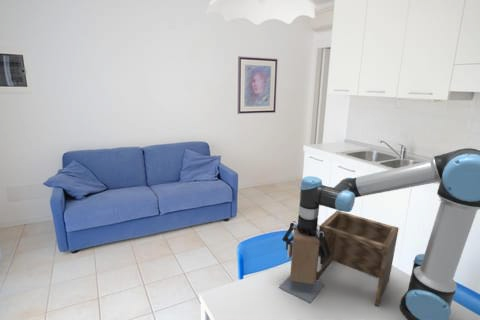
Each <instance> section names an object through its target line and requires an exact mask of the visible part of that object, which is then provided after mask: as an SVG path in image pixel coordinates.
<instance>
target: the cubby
mask: <svg viewBox="0 0 480 320" xmlns="http://www.w3.org/2000/svg"><path fill="white" fill-rule="evenodd" d="M318 228H319V229H318V230H319V231H321V232H322V231H324V232H325V239H326V242H327V245H328V248H329V251H330V256H329V257H328V258H326V257H325V262H324V263H323V265H322V268H321V270H320V271H319V272H318V271H317V273H316V280H317V281H318V279H319V278H320V277H321V276H322V275H323V273H324V272H325V271H326V270H327V268H328V267H329V266H330V264H332V262H335V263H338V264H341V265H344V266H347V267H348V268H352V269H354V270H357V271H359V272H362V273H365V274H367V275H369V276H372V277H374V278H377V279H378V283H377V289H376V293H375V300H374V306H375V307H377V308H378V307H379V306H380V304H381V301H382V298H383V296H384V293H385V291H386V289H387V287H388V284H389V282H390V278H391V272H392V268H393V261H394V255H395V251H396V246H397V245H396V244H397V238H398V234H399V230H400V229H399V227H397V226H395V225H394V226H393V225H390V224H387V223H383V222H379V221H376V220H372V219H368V218H365V217H362V216H358V215H354V214H352V213H349V212H344V211H338V210H336V211H335V212H333V213H332V214H331V215H330V216H329V217H327V219H325V221H324V222H322V223H321V224H320V225H319V227H318ZM320 244H321V242H320ZM321 246H322V245H321ZM319 255H320V254H318V257H319ZM317 265H318V264H317Z"/></svg>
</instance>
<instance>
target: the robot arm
mask: <svg viewBox="0 0 480 320" xmlns="http://www.w3.org/2000/svg"><path fill="white" fill-rule="evenodd" d="M437 183H438V184H439V185H438V189H437V193H436V194H437V197H438V198H439V199H440V203H439V206H438V209H437V213H436V217H435V219H434V222H433V226H432V230H431V232H430V236H429V238H428V241H427V246H426V249H425V251H424V253H420V254H417V255H415V257H414V260H413V264H412V271H411V274H410V279H409V283H408V286H407V287H408V288H407V291H406V292H405V293H404V295H403V296H402V297H401V299H400V301H399V309H400V311H401V313H402V315H403V316H404V317H405V318H406V319H407V320H449V319H450V316H451V315H452V309H451V307H452V303H453V299H454V297H455V295H456V291H457V289H458V286H457V282H455V279H454V277H455V275H456V272H457V269H458V266H459V263H460V261H461V258H462V255H463V252H464V249H465V246H466V243H467V240H468V238H469V235H470V232H471V229H472V226H473V223H474V221H475V219H476V215H477V212H478V211H479V210H480V149H477V148H471V147H470V148H469V147H468V148H467V147H466V148H460V149H456V150H453V151H449V152H446V153H442V154H438V155H433V156H432V158H431V159H430V160H426V161H423V162H422V161H421V162H418V163H414V164H409V165H405V166H400V167H395V168H391V169H387V170H382V171H379V172H374V173H370V174H365V175H360V176H358V177H345V178H344V179H342V180H340V181H339V183H337V184H336V185H335V186H334V187H331V186H326V185H324V184H323V180H322V179H321V178H319V177H317V176H310V175H309V176H305V177H303V178H302V179H301V184H300V185H301V186H300V189H299V190H300V192H299V195H300V196H299V205H298V216H297V217H298V218H297V222H296V221H295V220H294V221H292V222H291V223H290V224H289V228H288V230H287V231H286V233H285V234H284V236H283V237H282V239H281V240H282V241H283V242H285V250H286V252H287V253H286V254H287V255H286V259H287V260H289V259H291V258H292V248H293V236H294V235H292V236H291V237H290V235H291V234H292V232H294V228H296V227H297V229H298V231H299V232H300V233H305V234H307V235H308V236H315V235H316V234H318V237H319V239H320V242H321V244H320V245H319V254H320V255H319V257H318V265H317V271H318V272H319V271H320V270H321V268H322V265H323V263H324V262H325V257H326V258H328V257H329V256H330V251H329V248H328V245H327V242H326V239H325V232H324V231H322V232H321V231H318V230H319V229H318V223H319V213H320V211H319V210H320V206H322V207H325V208H329V209H332V210H336V211H341V212H344V213H350V212H351V211H352V210H353V207H354V206H355V200H356V198H361V197H365V196H369V195H375V194H380V193H387V192H391V191H398V190H402V189H407V188H414V187H418V186H425V185H430V184H437ZM317 229H318V230H317ZM289 237H290V238H289ZM321 245H322V246H321Z"/></svg>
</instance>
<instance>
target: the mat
mask: <svg viewBox="0 0 480 320" xmlns="http://www.w3.org/2000/svg"><path fill="white" fill-rule="evenodd" d="M324 286H325V283H323V282H321V281H319V280H318V279H317V280H316V282H315V284H308V283H302V282H296V281H291V279H290V275H289V276H288V277H287V278H286V279H285V280H284V281H283V282H282V283H281V284H280V285H279V286H278V288H279V290H282V291H283V292H286V293H288V294H289V295H292V296H294V297H296V298H298V299H300V300H302V301H304V302H306V303H308V304H312V302H313V301H314V300H315V298H316V297H317V295H318V294H319V293H320V292H321V290H322V289H323V287H324Z"/></svg>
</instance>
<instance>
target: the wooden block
mask: <svg viewBox="0 0 480 320" xmlns="http://www.w3.org/2000/svg"><path fill="white" fill-rule="evenodd" d="M317 230H318V231H319V229H318V228H317ZM292 236H293V240H292V243H293V246H292V256H291V262H290V273H289V276H290V279H291V281H296V282H302V283H308V284H315V282H316V273H317V264H318V254H319V245H320V239H319V237H318V234H316V235H315V236H308V235H307V234H305V233H300V232H299V231H298V229H297V227H296V228H294V229H293V235H292Z"/></svg>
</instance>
